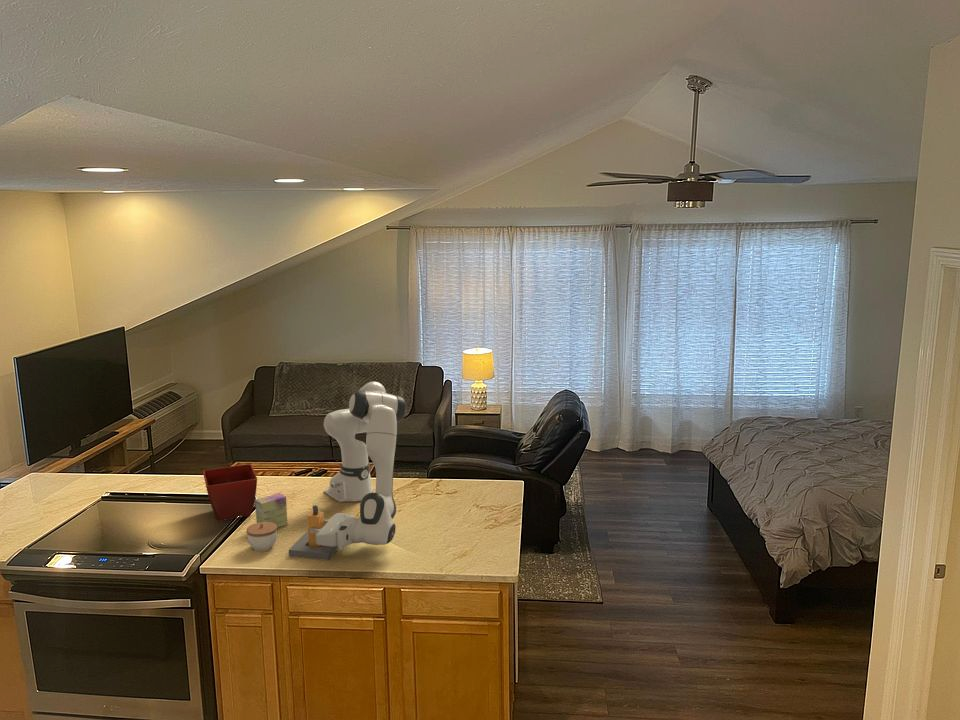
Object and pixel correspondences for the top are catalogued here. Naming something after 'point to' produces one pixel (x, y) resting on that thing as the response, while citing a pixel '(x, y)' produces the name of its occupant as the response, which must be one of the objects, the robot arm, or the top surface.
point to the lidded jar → (262, 535)
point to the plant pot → (231, 490)
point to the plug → (315, 524)
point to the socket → (311, 550)
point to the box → (272, 509)
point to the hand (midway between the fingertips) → (313, 526)
